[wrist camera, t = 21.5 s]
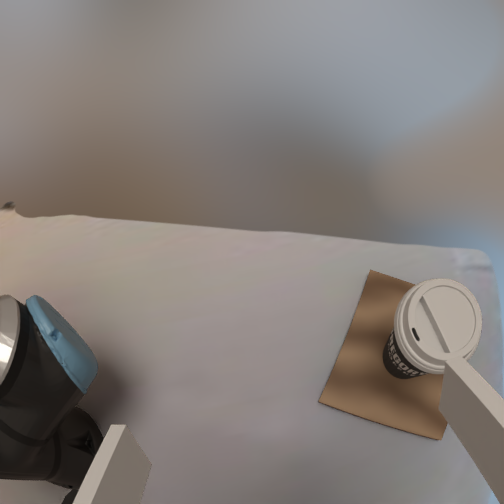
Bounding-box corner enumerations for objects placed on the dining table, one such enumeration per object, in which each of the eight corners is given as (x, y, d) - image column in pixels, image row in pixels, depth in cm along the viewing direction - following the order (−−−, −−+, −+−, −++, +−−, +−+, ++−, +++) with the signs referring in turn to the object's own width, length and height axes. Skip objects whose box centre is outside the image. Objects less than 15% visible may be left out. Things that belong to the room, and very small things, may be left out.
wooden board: (437, 439, 30) (441, 440, 29) (318, 402, 37) (318, 401, 36) (472, 309, 38) (476, 305, 37) (368, 274, 45) (370, 269, 44)
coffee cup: (370, 322, 39) (394, 271, 27) (434, 320, 37) (479, 269, 25) (370, 392, 35) (401, 374, 22) (438, 387, 33) (494, 363, 20)
